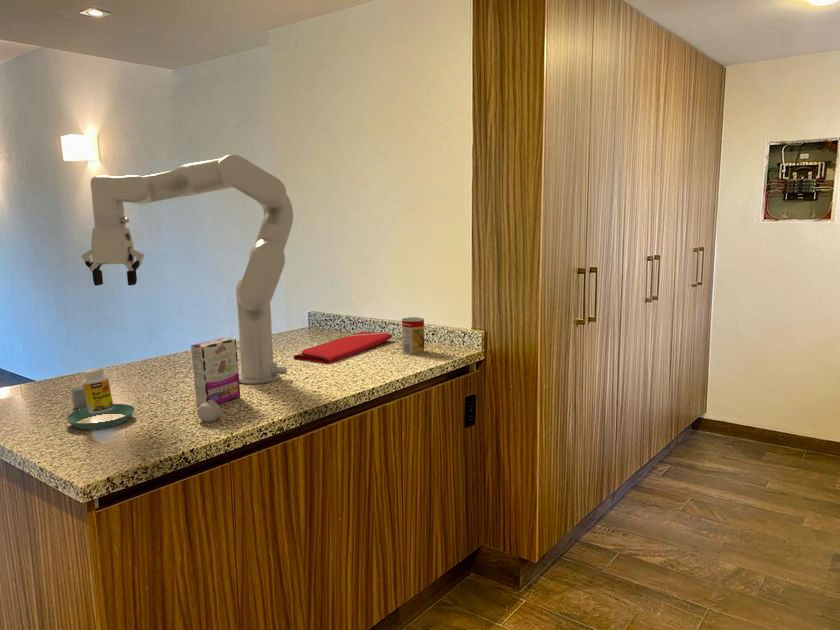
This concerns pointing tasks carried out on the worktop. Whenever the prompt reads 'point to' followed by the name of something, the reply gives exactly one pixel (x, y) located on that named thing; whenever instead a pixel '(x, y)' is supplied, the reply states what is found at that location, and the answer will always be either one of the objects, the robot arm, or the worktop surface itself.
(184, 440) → the worktop surface
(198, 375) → the candy bar box
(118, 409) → the saucer
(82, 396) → the grey short cylinder
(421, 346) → the canned food
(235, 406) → the worktop surface
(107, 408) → the supplement bottle
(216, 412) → the garlic
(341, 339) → the dish drying mat
